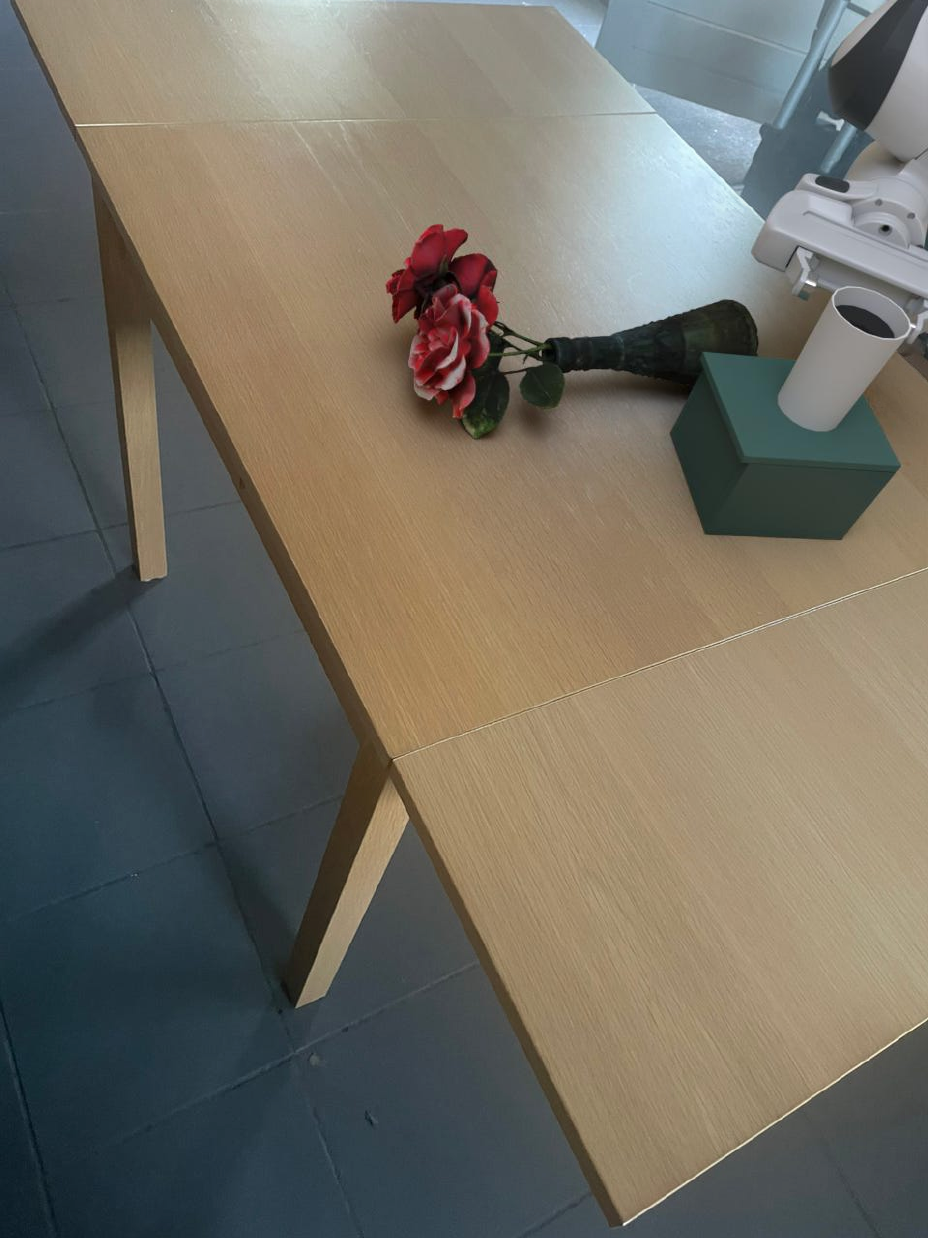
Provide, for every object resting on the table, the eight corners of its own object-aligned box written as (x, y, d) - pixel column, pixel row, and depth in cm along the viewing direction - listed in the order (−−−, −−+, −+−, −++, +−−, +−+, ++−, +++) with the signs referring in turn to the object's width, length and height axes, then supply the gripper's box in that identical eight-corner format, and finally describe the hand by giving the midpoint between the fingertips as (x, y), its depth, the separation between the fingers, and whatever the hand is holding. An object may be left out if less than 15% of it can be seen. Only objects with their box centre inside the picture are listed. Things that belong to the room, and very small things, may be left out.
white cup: (852, 440, 79) (922, 346, 71) (781, 429, 78) (843, 332, 70) (834, 388, 83) (897, 294, 75) (765, 377, 82) (822, 279, 74)
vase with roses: (671, 426, 103) (377, 452, 88) (658, 254, 100) (353, 252, 86) (773, 408, 89) (443, 435, 74) (761, 208, 86) (417, 196, 72)
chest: (704, 534, 83) (749, 463, 76) (669, 432, 90) (707, 359, 83) (841, 540, 86) (896, 472, 79) (796, 441, 93) (843, 371, 86)
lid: (740, 463, 75) (744, 456, 75) (699, 358, 83) (702, 351, 82) (896, 472, 79) (902, 465, 78) (843, 371, 86) (848, 364, 85)
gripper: (957, 310, 88) (948, 390, 79) (758, 227, 89) (729, 297, 81) (1001, 252, 83) (996, 330, 74) (789, 165, 84) (762, 232, 76)
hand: (855, 312), depth 78 cm, fingers open, 8 cm apart
